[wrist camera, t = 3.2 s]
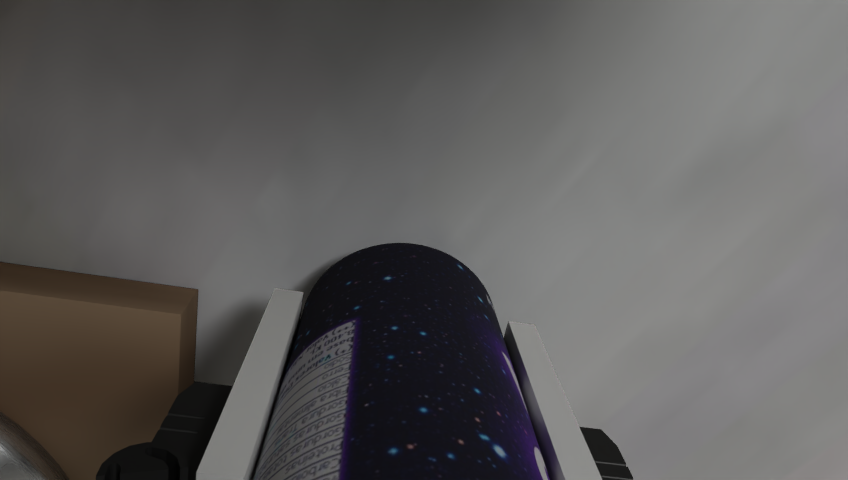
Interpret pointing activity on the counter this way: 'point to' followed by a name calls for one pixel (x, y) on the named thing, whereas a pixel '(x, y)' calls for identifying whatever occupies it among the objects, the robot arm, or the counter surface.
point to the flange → (24, 455)
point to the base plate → (92, 360)
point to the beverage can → (399, 378)
